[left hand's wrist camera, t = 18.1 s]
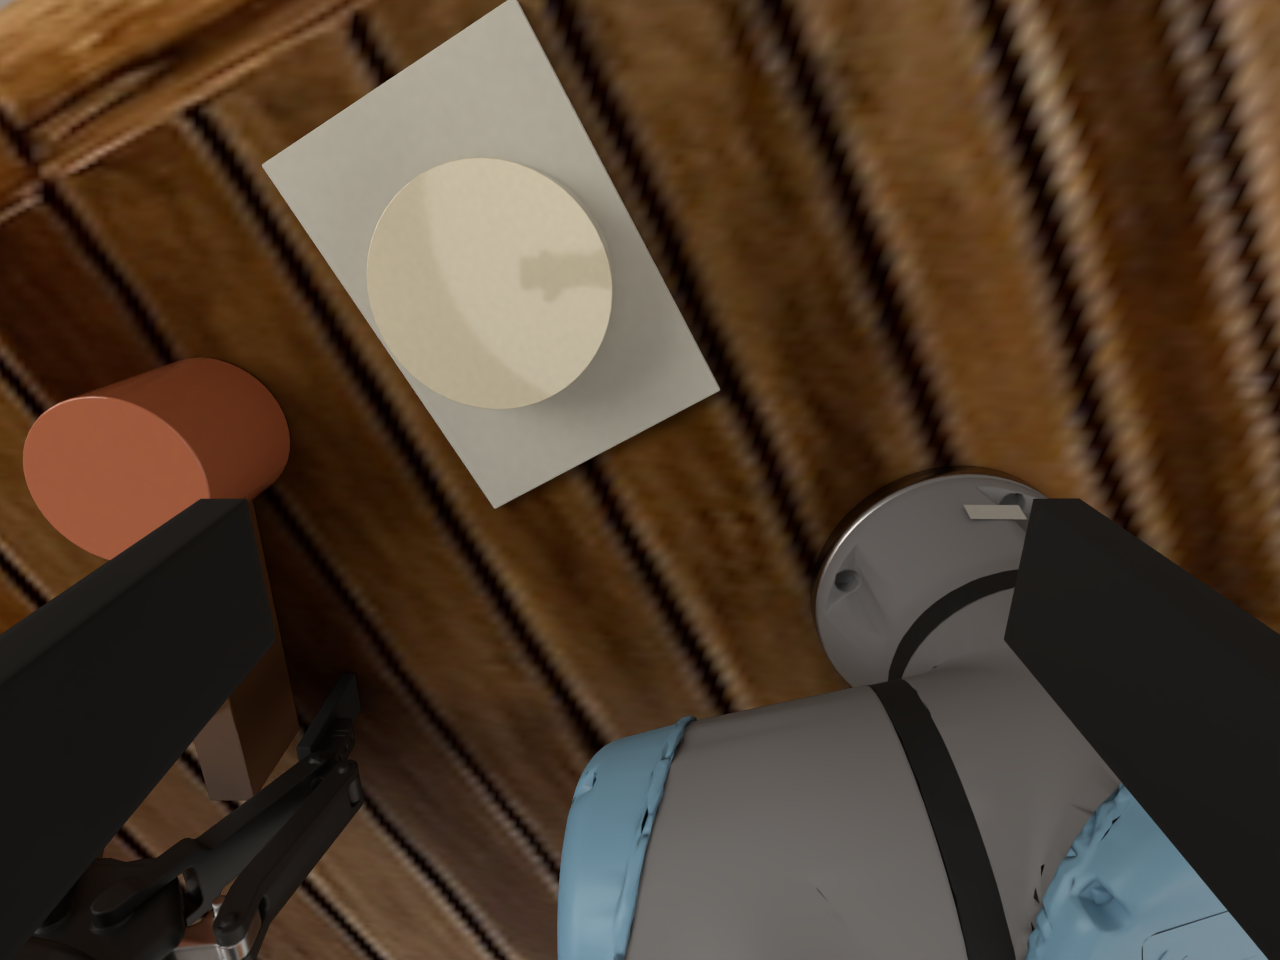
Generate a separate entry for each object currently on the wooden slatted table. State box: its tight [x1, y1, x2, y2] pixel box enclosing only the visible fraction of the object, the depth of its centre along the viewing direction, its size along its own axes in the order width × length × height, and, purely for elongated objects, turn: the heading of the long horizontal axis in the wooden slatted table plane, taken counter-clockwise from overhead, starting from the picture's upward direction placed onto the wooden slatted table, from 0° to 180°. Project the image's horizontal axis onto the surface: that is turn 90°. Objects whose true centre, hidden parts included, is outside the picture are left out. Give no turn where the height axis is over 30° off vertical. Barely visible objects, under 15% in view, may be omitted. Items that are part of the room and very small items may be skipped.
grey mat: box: [262, 0, 720, 509], centre depth 36 cm, size 20×14×1 cm
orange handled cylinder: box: [23, 358, 300, 800], centre depth 39 cm, size 24×8×8 cm, turn 0°
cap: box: [367, 157, 615, 410], centre depth 34 cm, size 11×11×4 cm
